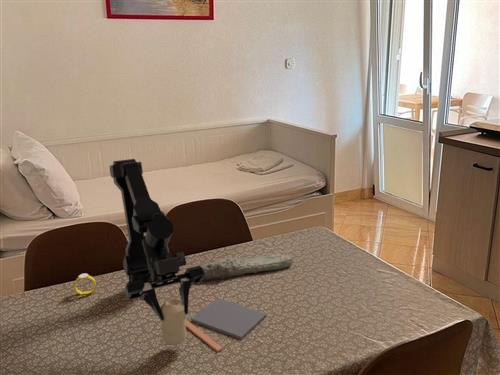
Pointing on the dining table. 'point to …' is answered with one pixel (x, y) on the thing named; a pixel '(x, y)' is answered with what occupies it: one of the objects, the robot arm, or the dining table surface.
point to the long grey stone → (243, 265)
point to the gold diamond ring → (82, 277)
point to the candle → (173, 322)
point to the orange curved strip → (203, 336)
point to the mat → (229, 318)
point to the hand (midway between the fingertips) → (174, 317)
